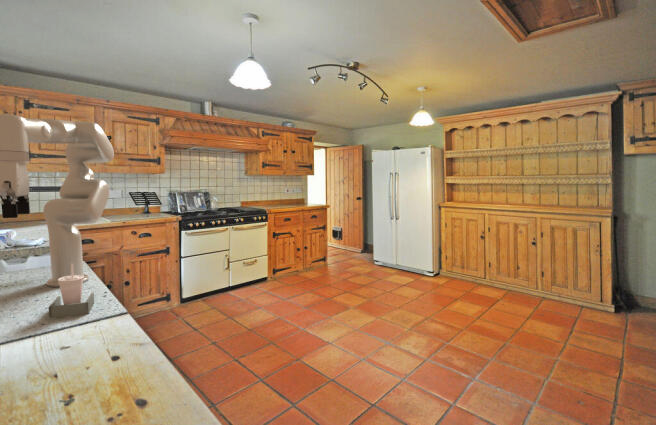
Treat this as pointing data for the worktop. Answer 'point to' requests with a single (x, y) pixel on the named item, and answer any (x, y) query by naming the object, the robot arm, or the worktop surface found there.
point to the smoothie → (71, 287)
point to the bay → (70, 308)
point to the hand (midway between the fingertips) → (17, 215)
